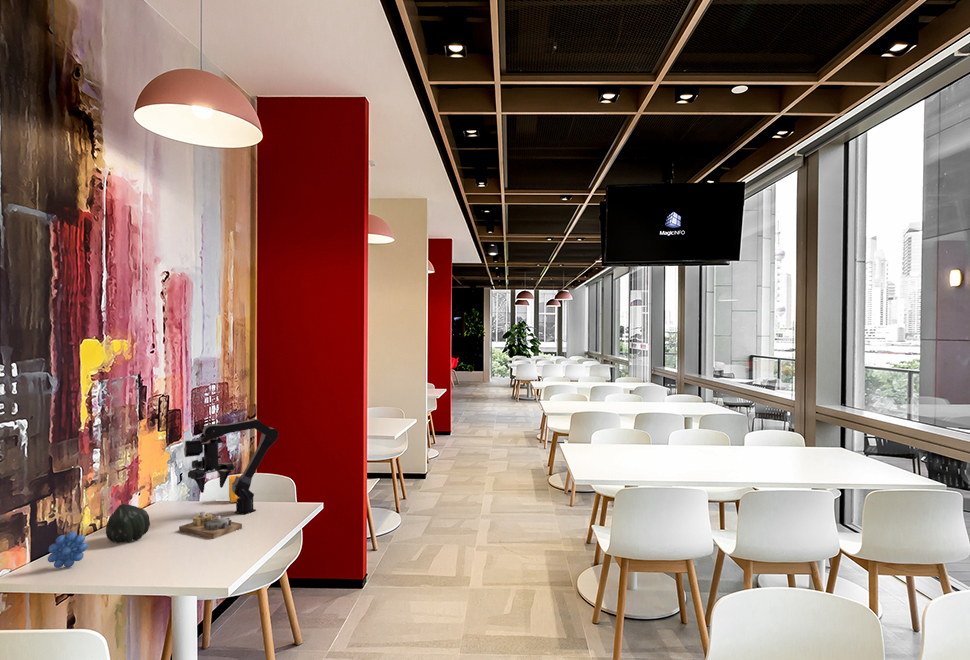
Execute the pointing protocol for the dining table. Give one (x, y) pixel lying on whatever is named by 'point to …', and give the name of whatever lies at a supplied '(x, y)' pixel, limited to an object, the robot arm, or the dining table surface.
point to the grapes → (67, 550)
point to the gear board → (210, 532)
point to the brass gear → (201, 519)
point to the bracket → (231, 495)
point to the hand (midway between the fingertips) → (211, 490)
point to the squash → (127, 524)
